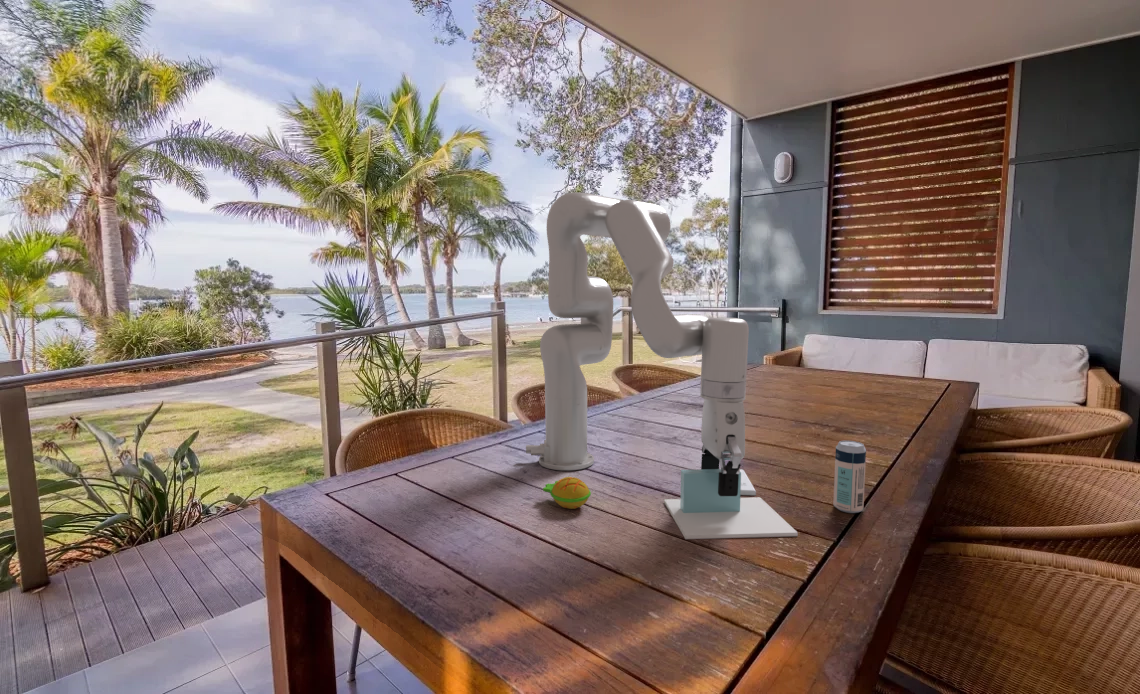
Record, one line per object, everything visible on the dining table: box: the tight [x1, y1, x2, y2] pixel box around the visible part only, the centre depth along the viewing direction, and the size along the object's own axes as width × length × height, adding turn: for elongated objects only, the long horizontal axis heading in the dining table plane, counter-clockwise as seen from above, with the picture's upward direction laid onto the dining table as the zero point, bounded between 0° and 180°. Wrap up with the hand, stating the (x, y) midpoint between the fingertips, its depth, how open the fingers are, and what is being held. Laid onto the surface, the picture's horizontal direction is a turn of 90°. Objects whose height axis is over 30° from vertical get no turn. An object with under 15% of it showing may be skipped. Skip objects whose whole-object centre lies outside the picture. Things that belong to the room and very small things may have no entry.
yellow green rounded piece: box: [542, 476, 592, 510], centre depth 99 cm, size 7×10×5 cm
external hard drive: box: [739, 468, 757, 496], centre depth 110 cm, size 2×8×12 cm
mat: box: [663, 496, 799, 540], centre depth 93 cm, size 18×15×1 cm
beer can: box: [832, 440, 867, 514], centre depth 96 cm, size 5×5×12 cm
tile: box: [680, 468, 741, 513], centre depth 95 cm, size 10×2×7 cm, turn 93°
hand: (718, 484), depth 95 cm, fingers open, 9 cm apart
